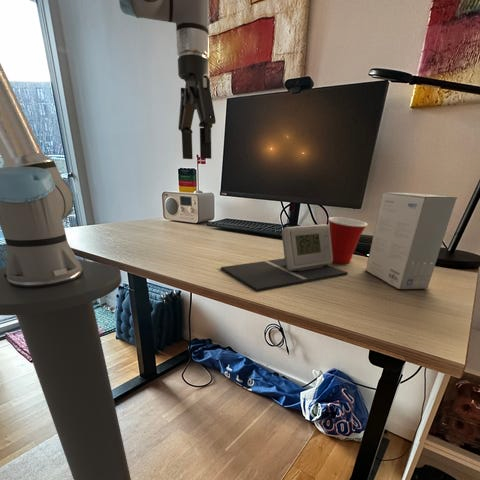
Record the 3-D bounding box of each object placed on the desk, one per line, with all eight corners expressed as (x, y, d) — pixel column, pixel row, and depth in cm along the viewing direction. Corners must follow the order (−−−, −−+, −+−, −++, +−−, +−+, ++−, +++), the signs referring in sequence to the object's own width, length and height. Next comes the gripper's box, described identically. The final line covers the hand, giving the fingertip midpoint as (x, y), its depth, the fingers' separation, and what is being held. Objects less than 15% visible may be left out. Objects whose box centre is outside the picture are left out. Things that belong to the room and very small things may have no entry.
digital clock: (286, 273, 75) (290, 230, 71) (271, 263, 83) (274, 224, 78) (340, 268, 80) (347, 228, 76) (321, 260, 88) (326, 222, 83)
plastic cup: (356, 268, 83) (365, 224, 78) (317, 262, 88) (323, 220, 82) (362, 259, 92) (371, 219, 86) (327, 254, 96) (333, 215, 91)
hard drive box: (428, 289, 69) (459, 197, 60) (398, 290, 68) (425, 196, 59) (389, 269, 83) (409, 191, 74) (364, 270, 82) (381, 191, 73)
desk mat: (256, 291, 66) (257, 288, 66) (220, 269, 80) (220, 266, 79) (347, 274, 78) (347, 271, 78) (302, 257, 92) (302, 255, 92)
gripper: (230, 45, 64) (229, 158, 73) (190, 73, 83) (193, 159, 92) (197, 37, 60) (200, 157, 70) (163, 68, 80) (169, 158, 89)
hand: (196, 158), depth 81 cm, fingers open, 13 cm apart
